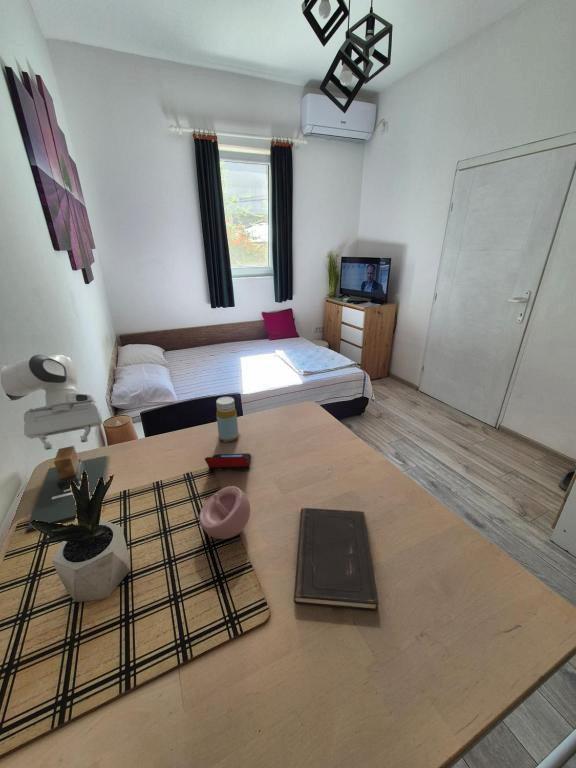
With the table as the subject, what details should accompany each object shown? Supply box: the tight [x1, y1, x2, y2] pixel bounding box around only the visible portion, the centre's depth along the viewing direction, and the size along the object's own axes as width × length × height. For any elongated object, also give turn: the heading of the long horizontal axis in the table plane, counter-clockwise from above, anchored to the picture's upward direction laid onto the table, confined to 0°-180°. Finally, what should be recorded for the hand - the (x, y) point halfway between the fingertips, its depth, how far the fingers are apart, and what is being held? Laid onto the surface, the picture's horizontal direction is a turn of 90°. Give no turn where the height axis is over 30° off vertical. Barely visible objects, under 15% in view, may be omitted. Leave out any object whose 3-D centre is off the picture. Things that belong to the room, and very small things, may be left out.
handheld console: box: [204, 453, 252, 472], centre depth 101 cm, size 12×11×7 cm
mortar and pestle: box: [198, 485, 251, 540], centre depth 78 cm, size 12×12×11 cm
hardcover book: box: [293, 507, 380, 612], centre depth 72 cm, size 16×23×2 cm
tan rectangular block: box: [53, 445, 83, 488], centre depth 97 cm, size 5×10×8 cm, turn 24°
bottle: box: [215, 396, 239, 443], centre depth 115 cm, size 7×7×15 cm
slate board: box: [26, 455, 108, 532], centre depth 94 cm, size 16×26×1 cm, turn 24°
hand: (66, 445), depth 99 cm, fingers open, 8 cm apart
